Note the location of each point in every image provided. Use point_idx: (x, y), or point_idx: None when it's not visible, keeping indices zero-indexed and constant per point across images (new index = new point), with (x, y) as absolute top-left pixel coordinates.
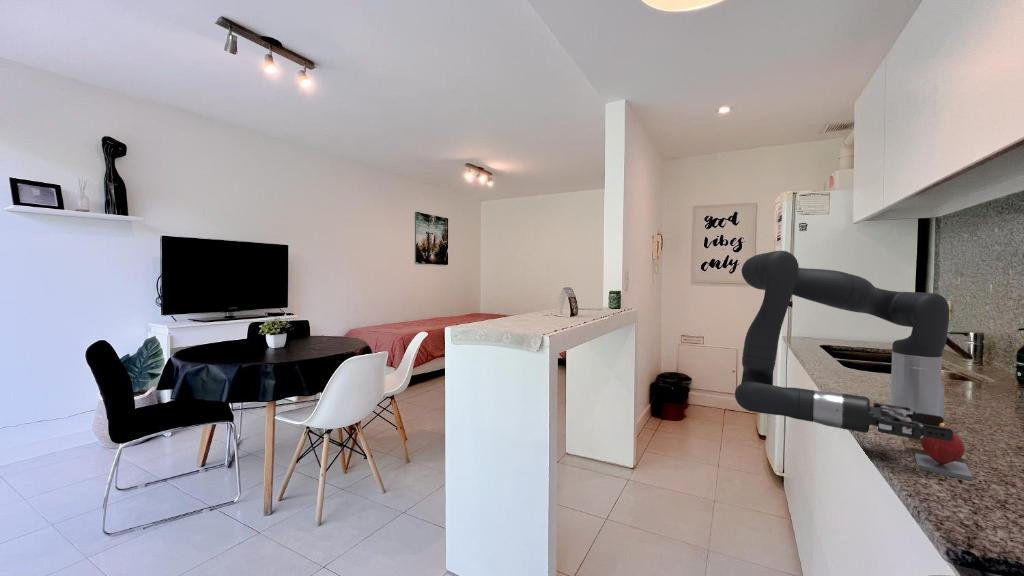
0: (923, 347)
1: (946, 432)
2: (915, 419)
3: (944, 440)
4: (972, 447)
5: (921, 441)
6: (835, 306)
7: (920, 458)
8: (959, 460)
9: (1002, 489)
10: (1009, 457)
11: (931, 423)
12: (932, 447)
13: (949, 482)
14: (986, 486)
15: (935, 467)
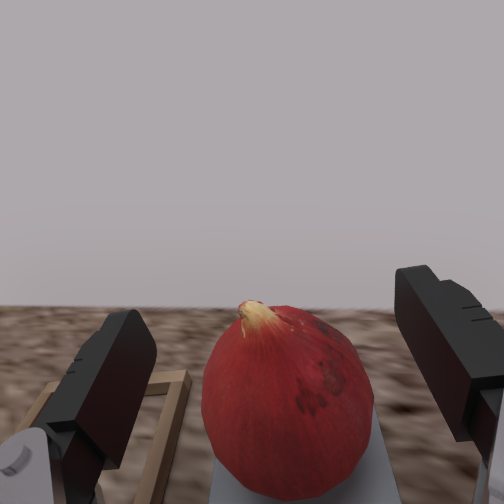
0: None
1: (464, 290)
2: (90, 466)
3: (351, 357)
4: (28, 364)
5: (292, 490)
6: None
7: None
8: (185, 394)
9: (363, 326)
10: (90, 313)
11: (136, 382)
12: (367, 438)
13: (471, 442)
14: (377, 351)
15: (374, 475)
